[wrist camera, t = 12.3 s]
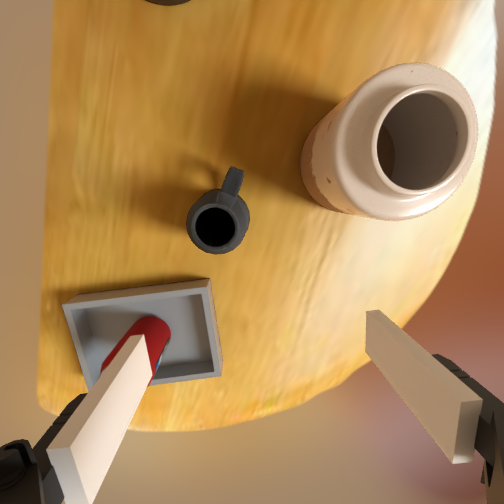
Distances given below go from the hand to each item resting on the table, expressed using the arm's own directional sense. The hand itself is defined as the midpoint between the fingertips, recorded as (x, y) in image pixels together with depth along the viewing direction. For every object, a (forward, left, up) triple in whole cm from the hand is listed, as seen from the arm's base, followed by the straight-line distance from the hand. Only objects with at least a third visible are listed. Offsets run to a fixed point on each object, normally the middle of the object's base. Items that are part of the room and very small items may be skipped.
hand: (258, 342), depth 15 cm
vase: (-11, +17, -28) cm, 35 cm away
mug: (-6, -3, -28) cm, 29 cm away
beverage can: (+13, -18, -27) cm, 35 cm away
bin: (+13, -18, -28) cm, 35 cm away
